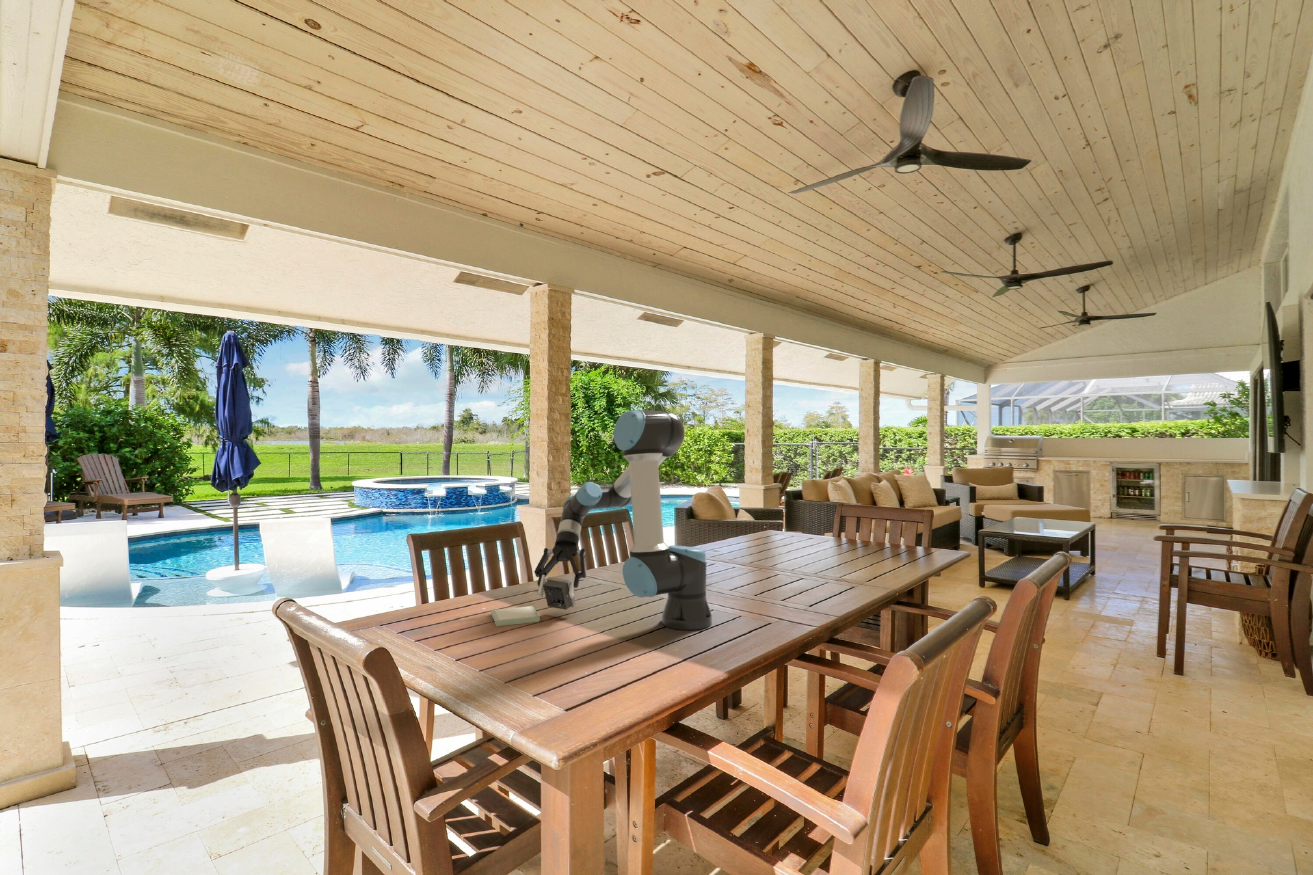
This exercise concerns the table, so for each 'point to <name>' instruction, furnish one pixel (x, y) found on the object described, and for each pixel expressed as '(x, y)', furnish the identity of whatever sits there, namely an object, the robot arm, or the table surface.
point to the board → (515, 615)
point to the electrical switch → (558, 593)
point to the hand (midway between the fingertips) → (555, 595)
